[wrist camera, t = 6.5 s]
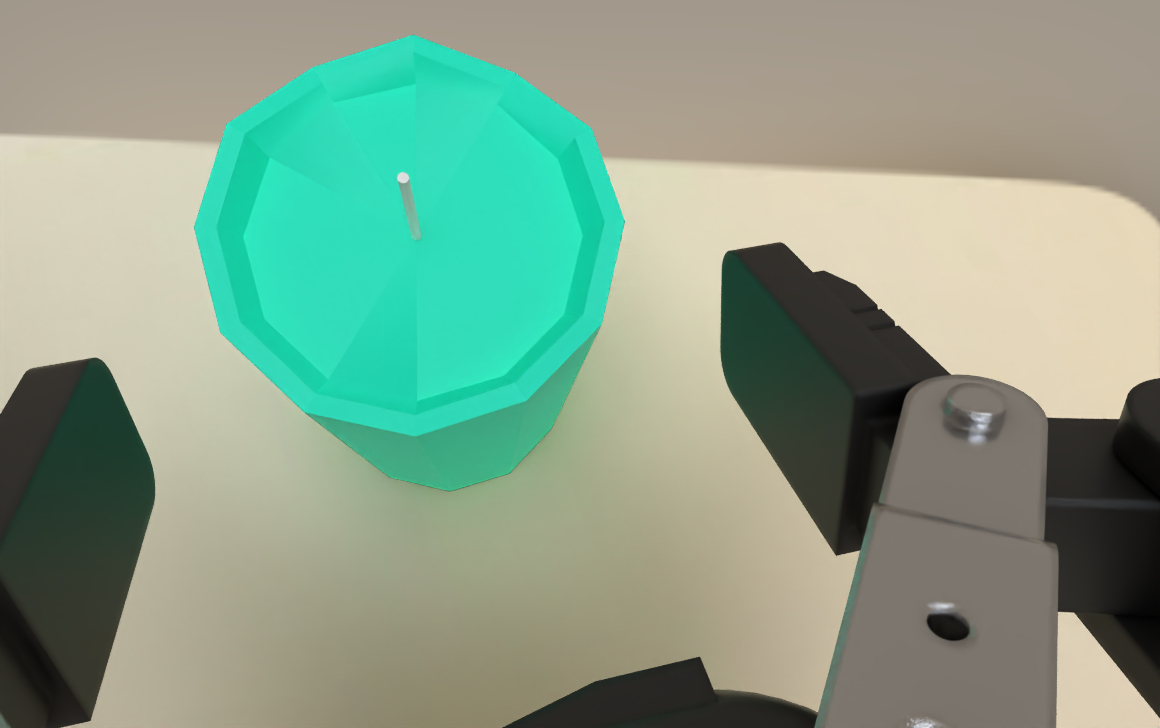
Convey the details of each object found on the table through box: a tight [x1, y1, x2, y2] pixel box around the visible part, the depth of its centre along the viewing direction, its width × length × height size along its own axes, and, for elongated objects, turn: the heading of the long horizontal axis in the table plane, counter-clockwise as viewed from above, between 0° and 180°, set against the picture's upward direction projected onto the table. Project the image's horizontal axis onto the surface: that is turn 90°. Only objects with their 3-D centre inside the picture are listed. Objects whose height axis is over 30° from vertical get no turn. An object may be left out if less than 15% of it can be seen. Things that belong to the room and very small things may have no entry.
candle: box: [194, 35, 625, 491], centre depth 17 cm, size 6×6×12 cm
